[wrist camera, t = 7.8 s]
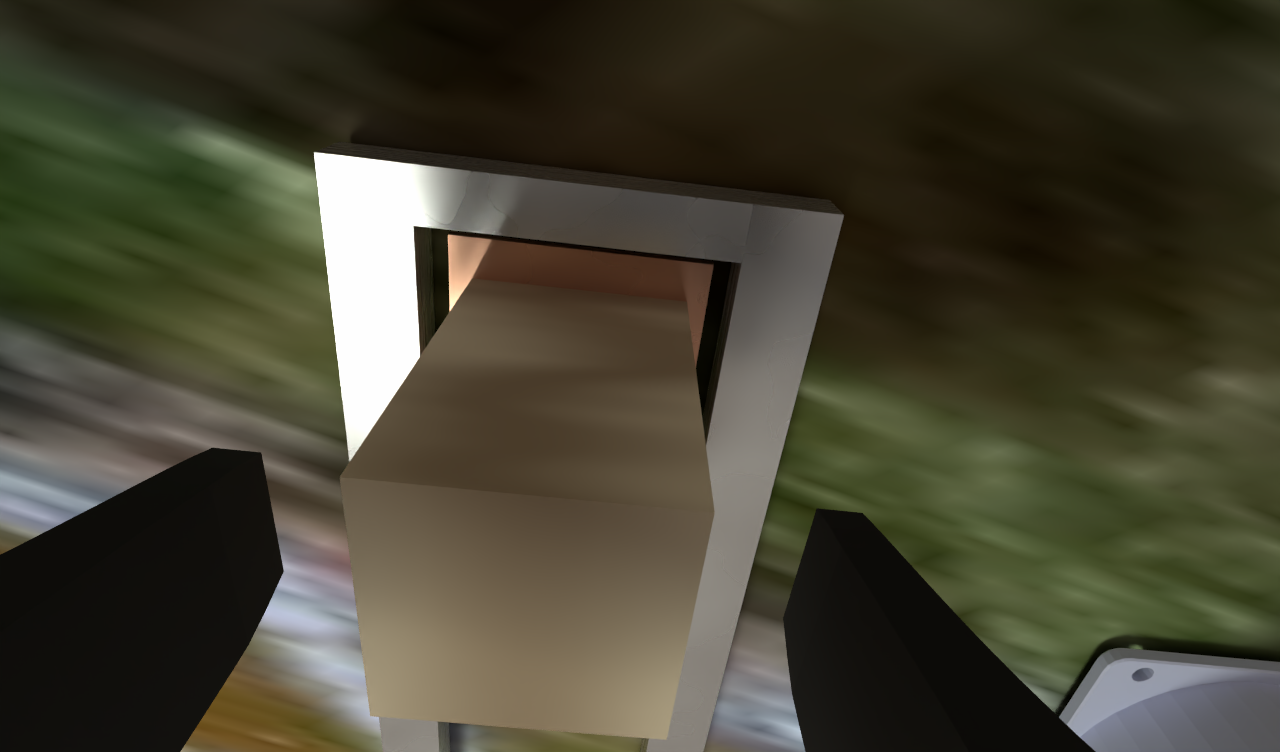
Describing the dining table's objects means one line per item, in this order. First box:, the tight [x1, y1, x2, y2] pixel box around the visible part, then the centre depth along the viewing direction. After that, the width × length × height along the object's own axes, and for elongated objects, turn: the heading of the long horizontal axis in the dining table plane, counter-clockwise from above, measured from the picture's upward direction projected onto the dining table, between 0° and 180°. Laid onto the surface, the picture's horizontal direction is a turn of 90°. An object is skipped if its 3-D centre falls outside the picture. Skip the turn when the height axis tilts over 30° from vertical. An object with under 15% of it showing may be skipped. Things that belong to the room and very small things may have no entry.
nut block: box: [340, 278, 715, 740], centre depth 11 cm, size 4×4×6 cm
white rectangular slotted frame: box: [314, 142, 844, 752], centre depth 16 cm, size 8×20×1 cm, turn 174°
